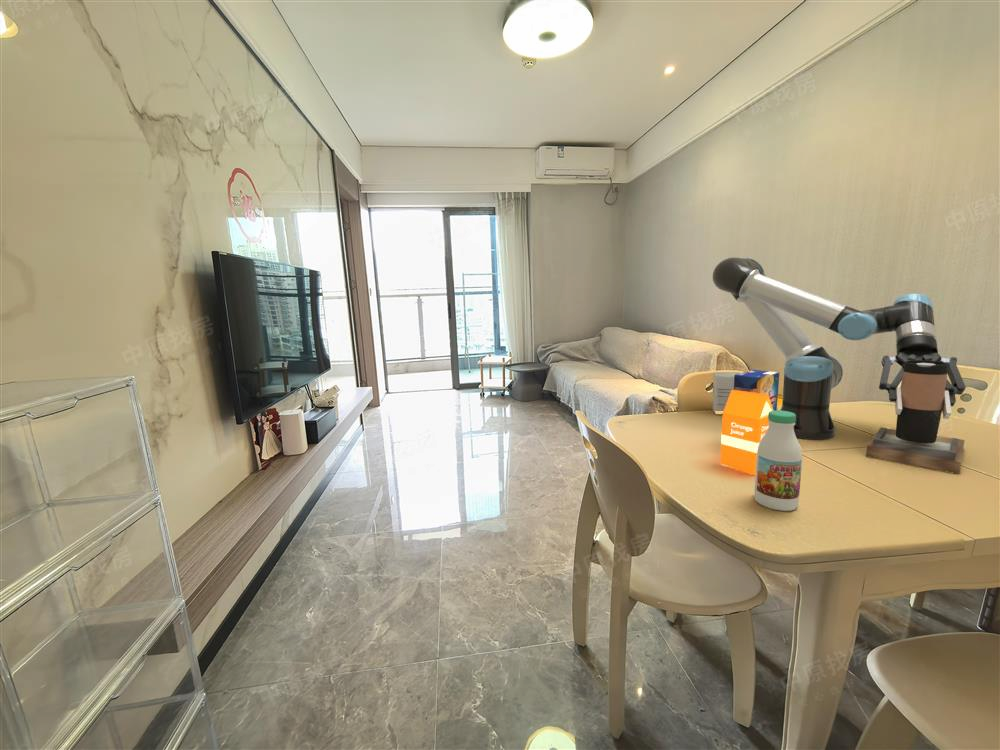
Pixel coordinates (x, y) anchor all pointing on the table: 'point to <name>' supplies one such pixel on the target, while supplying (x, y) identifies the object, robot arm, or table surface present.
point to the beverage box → (759, 384)
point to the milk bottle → (779, 464)
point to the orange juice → (744, 429)
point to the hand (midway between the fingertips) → (922, 413)
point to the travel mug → (921, 400)
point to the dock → (917, 451)
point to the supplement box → (722, 389)
